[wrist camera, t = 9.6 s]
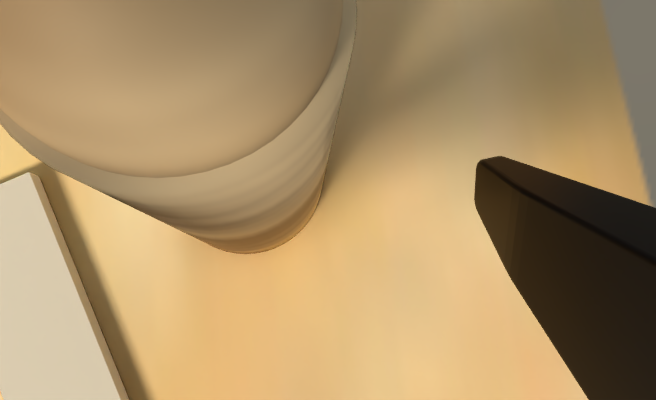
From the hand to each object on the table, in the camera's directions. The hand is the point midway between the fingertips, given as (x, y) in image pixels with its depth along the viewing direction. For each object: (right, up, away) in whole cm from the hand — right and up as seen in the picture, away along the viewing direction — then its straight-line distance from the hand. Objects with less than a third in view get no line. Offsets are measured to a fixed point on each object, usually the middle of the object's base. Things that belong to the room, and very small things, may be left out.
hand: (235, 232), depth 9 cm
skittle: (-1, +1, +8) cm, 8 cm away
